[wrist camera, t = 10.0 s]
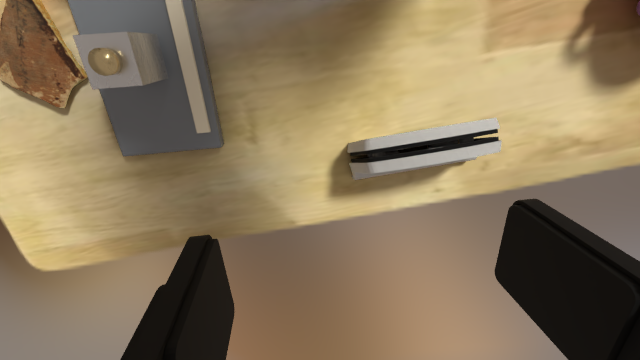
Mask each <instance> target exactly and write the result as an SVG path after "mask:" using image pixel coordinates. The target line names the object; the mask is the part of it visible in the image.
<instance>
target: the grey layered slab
mask: <svg viewBox="0 0 640 360" xmlns="http://www.w3.org/2000/svg"><path fill="white" fill-rule="evenodd" d="M499 128H500V126H499V123H498V121H497V118H491V119H485V120H479V121H472V122H466V123H460V124H454V125H448V126H442V127H436V128H430V129H424V130H418V131H412V132H406V133H400V134H394V135H388V136H383V137H377V138H371V139H366V140H361V141H356V142H352V143H348V148H347V153H350V156H355V155H367V156H368V157H363V158H357V159H351V163H349V165H350V168H351V171H352V174H353V176H352V178H353V179H354V180H358V179H364V178H370V177H376V176H382V175H388V174H393V173H399V172H405V171H411V170H417V169H423V168H429V167H434V166H440V165H446V164H452V163H458V162H464V161H469V160H475V159H476V158H477V157H478V156H483V155H487V154H492V153H497V152H500V151H501V140H499V139H498V137H489V138H477V139H474V138H473V137H477V136H482V135H488V134H493V133H498V130H497V129H499ZM458 140H459V144H458ZM424 145H428V147H427V149H424V150H418V151H412V152H406V153H399V152H398V150H400V149H406V148H412V147H418V146H424Z"/></svg>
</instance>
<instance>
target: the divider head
mask: <svg viewBox="0 0 640 360" xmlns="http://www.w3.org/2000/svg"><path fill="white" fill-rule="evenodd" d="M73 38H74V40H75V43H76V46H77V49H78V51H79V54H80V57H81V60H82V62H83V65H84V68H85V70H86V73H87V76H88V79H89V81H90V84H91V87H92V89H104V88H117V87H130V86H143V85H146V84H150V83H153V82H157V81H160V80H164V79H167V78H168V75H167V71H166V67H165V63H164V59H163V55H162V52H161V48H160V44H159V40H158V36H157V34H148V33H136V32H115V33H100V34H85V35H73Z"/></svg>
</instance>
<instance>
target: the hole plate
mask: <svg viewBox="0 0 640 360" xmlns="http://www.w3.org/2000/svg"><path fill="white" fill-rule="evenodd" d="M68 3H69V6H70V8H71V11H72V14H73V17H74V20H75V23H76V25H77V28H78V31H79V34H80V35H85V34H100V33H115V32H136V33H148V34H157V36H158V40H159V44H160V48H161V52H162V55H163V59H164V63H165V67H166V71H167V75H168V78H167V79H164V80H160V81H157V82H153V83H150V84H146V85H143V86H130V87H117V88H104V89H99V90H100V93H101V96H102V98H103V101H104V104H105V107H106V110H107V112H108V115H109V118H110V121H111V124H112V126H113V129H114V132H115V135H116V138H117V141H118V143H119V146H120V149H121V152H122V155H123V156H133V155H144V154H155V153H165V152H176V151H187V150H198V149H209V148H220V147H222V146H223V144H224V141H223V136H222V131H221V126H220V122H219V117H218V112H217V107H216V102H215V97H214V92H213V87H212V82H211V78H210V73H209V68H208V63H207V58H206V53H205V48H204V43H203V38H202V34H201V29H200V24H199V19H198V14H197V9H196V4H195V0H68Z"/></svg>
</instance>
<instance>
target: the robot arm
mask: <svg viewBox="0 0 640 360" xmlns="http://www.w3.org/2000/svg"><path fill="white" fill-rule="evenodd" d="M495 276H496V279H497V280H498V282H499V283H500V284H501V285H502V286H503V288H504V289H505V290H506V291H507V292H508V293H509V294H510V295H511V296H512V298H513V299H514V300H515V301H516V302H517V303H518V304H519V305H520V306H521V307H522V309H523V310H524V311H525V312H526V313H527V314H528V315H529V316H530V318H531V319H532V320H533V321H534V322H535V323H536V324H537V325H538V326H539V327H540V329H541V330H542V331H543V332H544V333H545V334H546V335H547V336H548V338H550V340H551V341H552V342H553V343H554V344H555V345H556V346H557V348H558V349H559V350H560V351H561V352H562V353H563V354H564V355H565V356H566V357H567V359H568V360H640V261H638V260H636V259H635V258H633V257H631V256H630V255H628V254H626V253H625V252H623V251H622V250H620V249H618V248H617V247H615V246H613V245H612V244H610V243H609V242H607V241H605V240H603V239H602V238H600V237H599V236H597V235H595V234H594V233H592V232H590V231H589V230H587V229H586V228H584V227H582V226H581V225H579V224H577V223H576V222H574V221H573V220H571V219H569V218H568V217H566V216H564V215H563V214H561V213H559V212H558V211H556V210H555V209H553V208H551V207H550V206H548V205H546V204H545V203H543V202H542V201H540V200H538V199H527V200H518V201H516V202H514V203H513V205H512V206H511V207H510V208H509V210H508V214H507V218H506V223H505V227H504V232H503V236H502V241H501V245H500V249H499V254H498V258H497V263H496V267H495ZM233 319H234V303H233V298H232V295H231V290H230V286H229V282H228V278H227V275H226V270H225V266H224V262H223V258H222V254H221V250H220V246H219V242H218V240H217V239H212V237H211V236H210V235H203V236H194V237H189V239H188V240H187V242H186V244H185V246H184V248H183V251H182V252H181V255H180V257H179V259H178V261H177V263H176V265H175V267H174V269H173V271H172V273H171V275H170V277H169V279H168V281H167V283H166V285H162V286H160V287H159V288H158V290H157V291H156V293H155V295H154V297H153V299H152V301H151V302H150V304H149V306H148V309H147V310H146V312H145V314H144V316H143V318H142V319H141V321H140V324H139V325H138V327H137V329H136V331H135V333H134V335H133V337H132V339H131V340H130V342H129V344H128V346H127V348H126V350H125V352H124V354H123V356H122V358H121V360H226V355H227V350H228V345H229V340H230V334H231V329H232V324H233Z"/></svg>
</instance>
